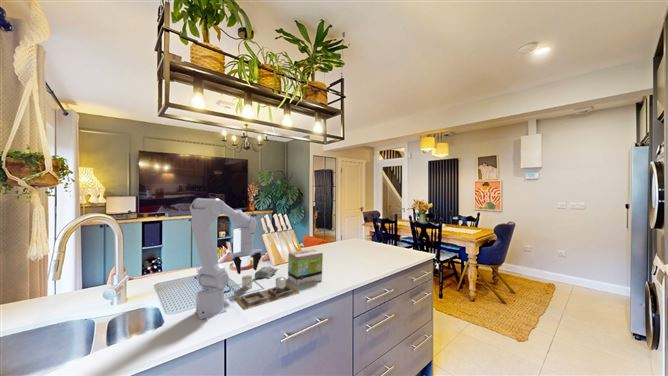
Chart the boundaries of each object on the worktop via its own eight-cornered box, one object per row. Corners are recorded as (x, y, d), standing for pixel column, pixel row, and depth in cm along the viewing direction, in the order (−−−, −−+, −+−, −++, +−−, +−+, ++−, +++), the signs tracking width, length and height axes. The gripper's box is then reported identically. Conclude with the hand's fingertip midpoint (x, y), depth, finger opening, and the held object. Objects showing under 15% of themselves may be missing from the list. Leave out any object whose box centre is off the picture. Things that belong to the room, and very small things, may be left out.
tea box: (297, 287, 122) (297, 257, 122) (287, 281, 130) (287, 252, 129) (322, 280, 131) (323, 252, 131) (311, 275, 139) (312, 248, 139)
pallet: (243, 313, 97) (243, 306, 97) (233, 302, 106) (233, 295, 106) (300, 296, 112) (300, 290, 112) (287, 287, 122) (287, 282, 122)
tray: (238, 298, 109) (238, 295, 109) (229, 289, 119) (229, 286, 119) (264, 291, 117) (264, 288, 117) (254, 283, 126) (254, 280, 126)
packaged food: (278, 273, 141) (277, 265, 141) (269, 281, 129) (269, 272, 129) (263, 273, 142) (263, 264, 142) (253, 281, 130) (253, 271, 130)
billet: (278, 295, 110) (278, 281, 110) (273, 291, 113) (273, 278, 113) (287, 292, 113) (287, 279, 113) (282, 289, 116) (282, 276, 116)
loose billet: (243, 292, 115) (243, 279, 114) (240, 289, 118) (240, 276, 118) (253, 290, 117) (253, 277, 117) (249, 287, 121) (249, 274, 121)
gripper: (234, 246, 110) (234, 277, 110) (265, 241, 119) (265, 270, 119) (228, 243, 115) (228, 273, 115) (259, 239, 124) (258, 266, 125)
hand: (247, 271), depth 118 cm, fingers open, 7 cm apart
